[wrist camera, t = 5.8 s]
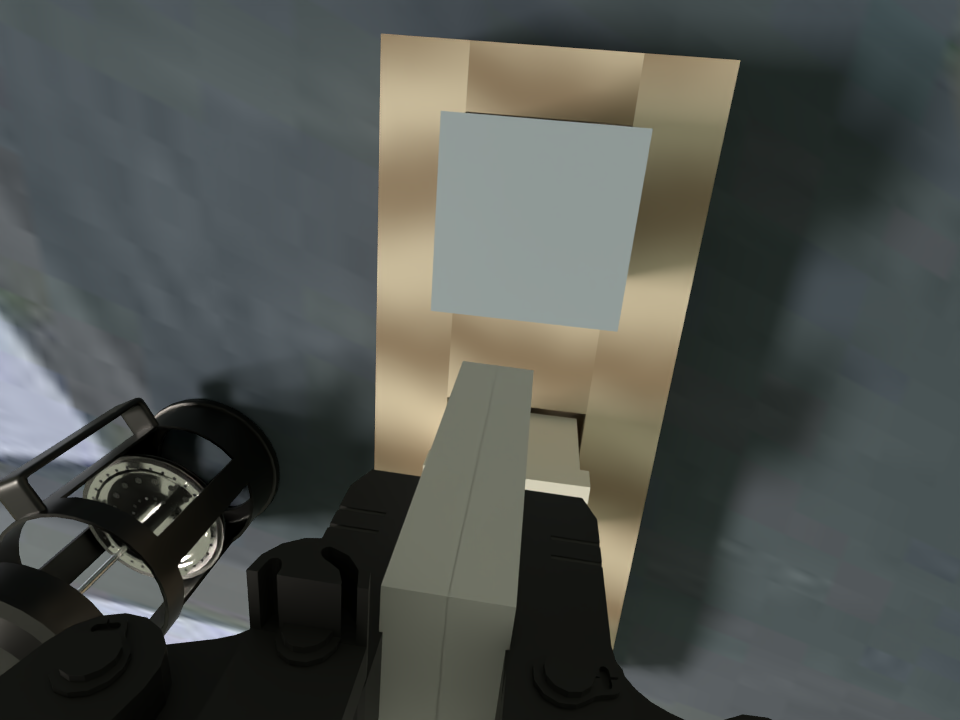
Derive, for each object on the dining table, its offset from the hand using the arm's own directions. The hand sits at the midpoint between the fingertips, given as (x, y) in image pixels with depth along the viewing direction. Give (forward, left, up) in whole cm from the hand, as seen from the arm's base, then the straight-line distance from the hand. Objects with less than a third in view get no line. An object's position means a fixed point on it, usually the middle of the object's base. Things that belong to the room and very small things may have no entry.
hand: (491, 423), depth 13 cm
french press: (+16, -20, -21) cm, 33 cm away
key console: (+10, 0, -21) cm, 23 cm away
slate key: (-3, 0, -15) cm, 15 cm away
